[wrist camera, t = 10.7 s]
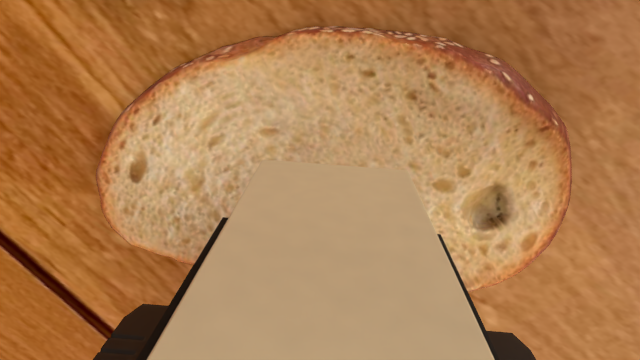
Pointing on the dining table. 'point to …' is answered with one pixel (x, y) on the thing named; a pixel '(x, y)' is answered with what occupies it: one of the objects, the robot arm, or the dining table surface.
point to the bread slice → (344, 141)
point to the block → (325, 275)
